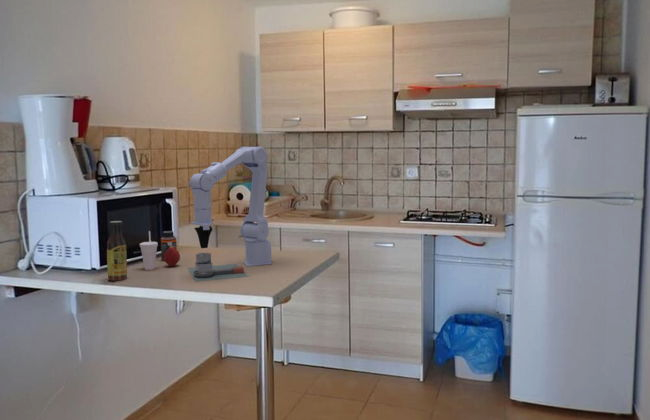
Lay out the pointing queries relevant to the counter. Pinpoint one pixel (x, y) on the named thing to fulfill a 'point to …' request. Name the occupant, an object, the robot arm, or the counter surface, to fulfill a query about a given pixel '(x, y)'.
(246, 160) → the robot arm
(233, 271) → the ratchet
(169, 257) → the onion
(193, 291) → the counter surface
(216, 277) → the mat
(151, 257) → the smoothie
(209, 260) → the socket
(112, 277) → the sauce bottle
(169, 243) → the supplement bottle
